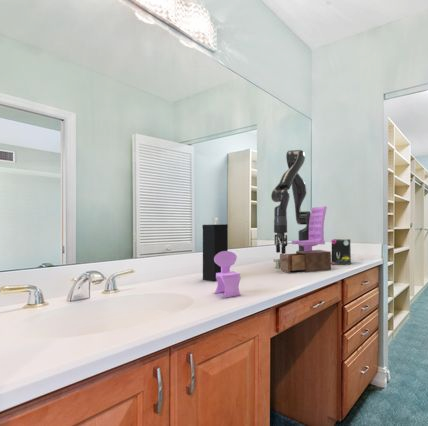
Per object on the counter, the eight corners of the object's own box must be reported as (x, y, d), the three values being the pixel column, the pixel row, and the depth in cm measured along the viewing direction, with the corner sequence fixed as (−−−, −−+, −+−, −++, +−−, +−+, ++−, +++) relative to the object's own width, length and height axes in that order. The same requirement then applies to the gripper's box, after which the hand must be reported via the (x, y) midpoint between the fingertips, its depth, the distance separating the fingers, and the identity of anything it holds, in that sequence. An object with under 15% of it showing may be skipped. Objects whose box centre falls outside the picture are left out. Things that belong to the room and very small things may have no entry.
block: (275, 267, 159) (275, 259, 159) (283, 266, 161) (283, 259, 161) (278, 268, 155) (278, 260, 155) (285, 267, 157) (285, 259, 157)
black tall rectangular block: (228, 278, 128) (227, 217, 129) (214, 281, 121) (214, 217, 122) (216, 276, 132) (215, 217, 133) (202, 279, 125) (202, 217, 126)
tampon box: (331, 264, 167) (331, 239, 168) (333, 262, 176) (333, 239, 177) (349, 264, 165) (349, 239, 165) (351, 262, 174) (350, 239, 174)
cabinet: (306, 272, 141) (305, 253, 141) (296, 268, 152) (296, 251, 153) (331, 269, 147) (330, 251, 148) (319, 266, 159) (319, 249, 159)
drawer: (279, 272, 136) (279, 256, 136) (271, 269, 146) (271, 254, 146) (312, 269, 143) (312, 254, 144) (303, 266, 154) (302, 252, 154)
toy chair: (220, 298, 92) (220, 253, 93) (211, 293, 99) (211, 251, 100) (243, 294, 97) (243, 251, 98) (234, 290, 104) (233, 249, 105)
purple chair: (291, 263, 171) (291, 207, 173) (315, 261, 180) (315, 207, 181) (303, 266, 158) (302, 205, 160) (328, 264, 167) (327, 206, 168)
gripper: (291, 224, 154) (291, 253, 153) (282, 224, 167) (282, 251, 166) (278, 224, 151) (278, 254, 150) (270, 224, 164) (270, 252, 163)
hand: (280, 253), depth 158 cm, fingers open, 8 cm apart
